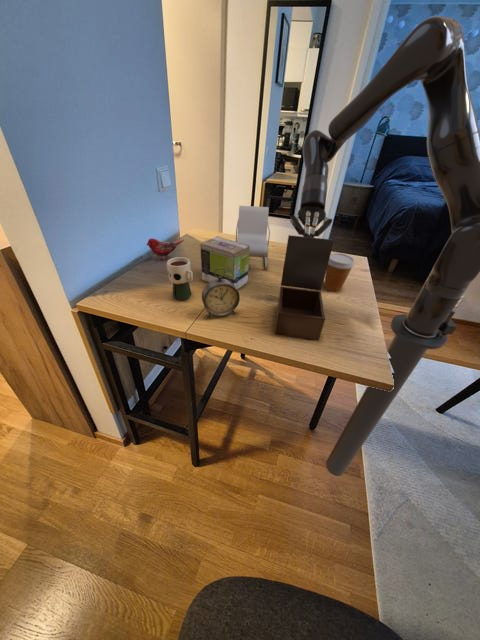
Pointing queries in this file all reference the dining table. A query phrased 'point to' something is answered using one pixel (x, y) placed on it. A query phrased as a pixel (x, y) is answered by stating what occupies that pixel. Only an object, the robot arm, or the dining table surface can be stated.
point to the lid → (306, 262)
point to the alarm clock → (220, 296)
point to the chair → (254, 230)
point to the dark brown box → (299, 313)
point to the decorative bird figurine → (162, 247)
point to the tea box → (225, 260)
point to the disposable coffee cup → (337, 271)
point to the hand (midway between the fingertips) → (307, 247)
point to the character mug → (180, 277)
